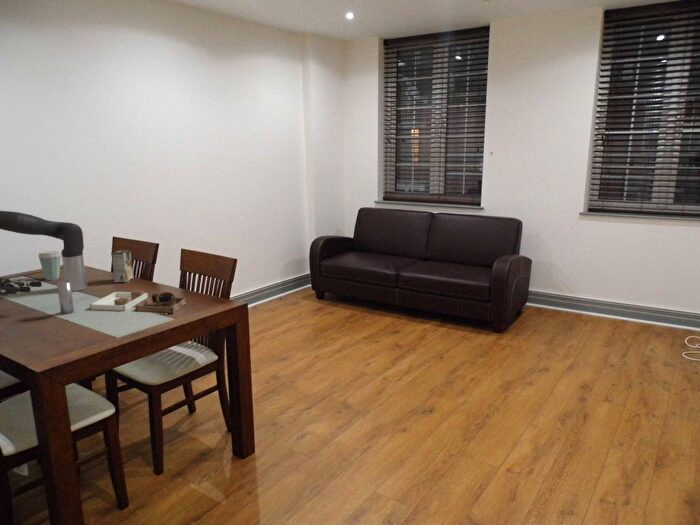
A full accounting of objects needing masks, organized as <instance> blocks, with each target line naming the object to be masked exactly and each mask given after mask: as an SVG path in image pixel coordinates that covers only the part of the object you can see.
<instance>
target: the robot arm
mask: <svg viewBox="0 0 700 525" xmlns="http://www.w3.org/2000/svg"><path fill="white" fill-rule="evenodd" d="M0 230H3V231H7V232H11V233H16V234H17V233H18V234H21V235H22V234H23V235H31V236H46V237H51V238H53V239H58V240H61V241H63V249H61V252H60V253H61V260H62V262H61V263H62V269H63V278H64V281H70V282H71V290H72V292H77V291H84V290H85V289H87V288H88V278H87V270H86V267H85V261H84V253H83V252H84V248H85V247H84V246H85V245H84V244H85V243H84V232H83V229H82V227H80V225H78V224H76V223H72V222H65V221H64V222H62V221H54V220H48V219H44V218H41V217H39V216H35V215H32V214H28V213H23V212H19V211H10V210H9V211H8V210H0ZM42 285H43V283H42V281H34V279H18V280H15V281H11V280H10V278H8V277H0V297H6V296H8V295H16V294H20V293H30V292H31V288H40V287H43V286H42Z"/></svg>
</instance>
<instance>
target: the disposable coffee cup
mask: <svg viewBox="0 0 700 525" xmlns="http://www.w3.org/2000/svg"><path fill="white" fill-rule="evenodd" d="M38 259H39V262H40V265H41V268H42V270H41V271H42V273H43V275H44V279H45V280H46V281H54V280H58V279H60V273H61V260H62V254H61V252H60V251H58V250H57V251H55V250H52V251H51V250H50V251H49V250H48V251H40V252H39V253H38Z"/></svg>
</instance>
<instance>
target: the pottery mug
mask: <svg viewBox="0 0 700 525" xmlns="http://www.w3.org/2000/svg"><path fill="white" fill-rule="evenodd" d="M151 297H152V299H153V302H154V303H155V304H156V307H172V306H174V305H175V304H177V303H178V302H176V300H175V299H176V296H175V295H174V293H172V292H170V291H162V292H160V293H159V294H158V293H153V294H152V295H151ZM171 297H172V299H171Z"/></svg>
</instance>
